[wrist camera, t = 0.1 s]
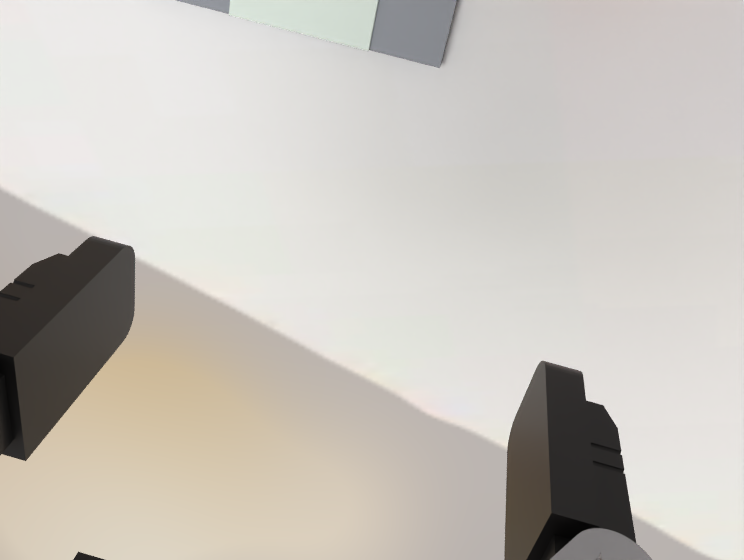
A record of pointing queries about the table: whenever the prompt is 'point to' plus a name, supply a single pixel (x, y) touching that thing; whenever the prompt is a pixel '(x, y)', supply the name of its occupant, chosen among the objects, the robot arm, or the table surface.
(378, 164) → the table surface
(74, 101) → the table surface
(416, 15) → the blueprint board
